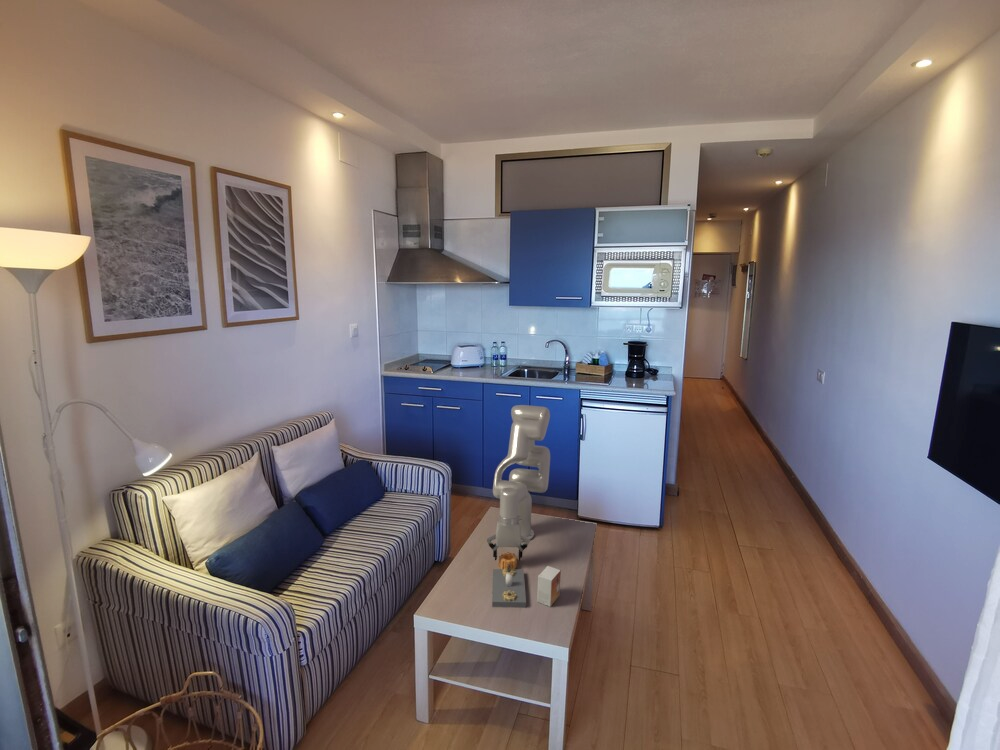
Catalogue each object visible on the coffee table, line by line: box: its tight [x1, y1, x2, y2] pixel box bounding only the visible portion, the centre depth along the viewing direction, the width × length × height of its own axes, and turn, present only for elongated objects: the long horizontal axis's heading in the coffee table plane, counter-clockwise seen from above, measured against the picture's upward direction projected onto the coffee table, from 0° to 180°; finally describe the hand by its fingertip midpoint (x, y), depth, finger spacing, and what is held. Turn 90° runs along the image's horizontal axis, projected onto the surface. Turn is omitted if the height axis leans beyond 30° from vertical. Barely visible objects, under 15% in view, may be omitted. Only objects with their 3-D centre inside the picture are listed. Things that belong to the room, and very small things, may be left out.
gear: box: [498, 551, 518, 570], centre depth 199 cm, size 7×7×4 cm
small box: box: [536, 565, 561, 608], centre depth 179 cm, size 8×6×10 cm
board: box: [491, 564, 527, 608], centre depth 184 cm, size 20×12×6 cm, turn 0°
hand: (507, 558), depth 198 cm, fingers open, 9 cm apart
